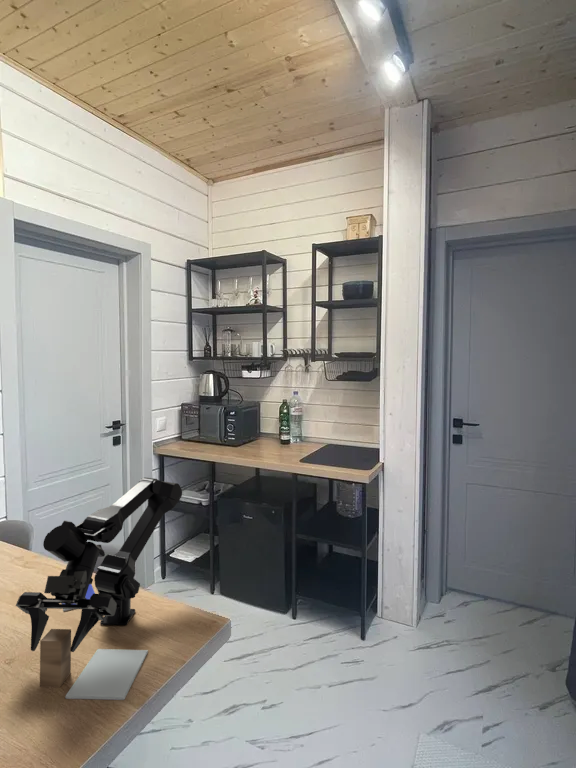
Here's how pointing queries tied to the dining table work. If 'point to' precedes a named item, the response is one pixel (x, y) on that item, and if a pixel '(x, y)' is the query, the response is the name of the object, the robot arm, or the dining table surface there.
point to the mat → (108, 675)
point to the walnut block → (55, 657)
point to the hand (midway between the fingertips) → (52, 651)
